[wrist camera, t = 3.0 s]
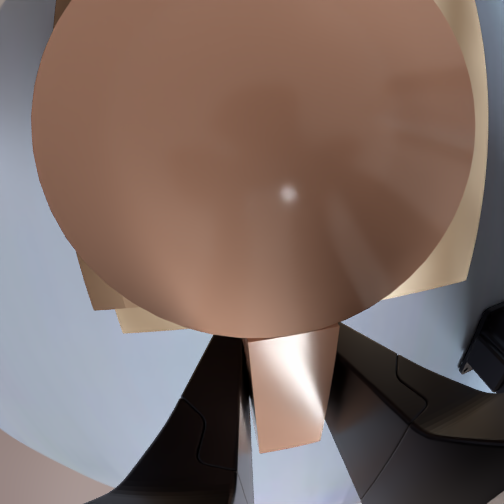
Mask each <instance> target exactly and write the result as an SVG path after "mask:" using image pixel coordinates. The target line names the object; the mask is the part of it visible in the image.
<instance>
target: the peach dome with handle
mask: <svg viewBox="0 0 504 504" xmlns="http://www.w3.org/2000/svg"><path fill="white" fill-rule="evenodd" d="M31 126H32V144H33V153H34V158H35V163H36V167H37V172H38V176H39V181H40V183H41V186H42V189H43V192H44V194H45V197H46V200H47V202H48V205H49V207H50V210H51V212H52V214H53V216H54V217H55V219H56V221H57V223H58V225H59V226H60V228H61V230H62V232H63V233H64V235H65V237H66V238H67V240H68V241H69V242H70V244H71V245H72V246H73V248H74V249H75V250H76V252H77V253H78V254H79V255H80V257H81V258H82V259H83V261H84V262H85V263H86V264H87V265H88V266H89V267H90V268H91V269H92V270H93V271H94V272H95V273H96V274H97V275H98V276H99V277H100V278H101V279H102V280H103V281H104V282H105V283H106V284H108V285H109V286H110V287H112V288H113V289H114V290H116V291H117V292H118V293H120V294H121V295H122V296H124V297H125V298H126V299H128V300H129V301H131V302H132V303H134V304H136V305H137V306H139V307H141V308H143V309H145V310H146V311H148V312H150V313H152V314H154V315H156V316H157V317H160V318H162V319H165V320H167V321H170V322H172V323H175V324H177V325H180V326H183V327H185V328H189V329H193V330H197V331H201V332H205V333H209V334H213V335H221V336H229V337H237V338H242V341H243V348H244V357H245V365H246V373H247V381H248V389H249V401H250V409H251V414H252V419H253V424H254V429H255V434H256V438H257V443H258V448H259V453H266V452H272V451H277V450H283V449H288V448H292V447H297V446H302V445H306V444H310V443H314V442H318V441H320V439H321V435H322V430H323V425H324V420H325V415H326V410H327V405H328V399H329V394H330V388H331V382H332V376H333V370H334V364H335V357H336V350H337V343H338V335H339V328H340V326H339V324H338V322H341V321H344V320H346V319H348V318H350V317H352V316H354V315H356V314H358V313H360V312H362V311H364V310H366V309H368V308H370V307H371V306H373V305H374V304H376V303H377V302H379V301H380V300H382V299H383V298H385V297H386V296H388V295H389V294H391V293H392V292H393V291H394V290H396V289H397V288H398V287H399V286H400V285H402V284H403V283H404V282H405V281H406V280H407V279H409V278H410V277H411V276H412V274H413V273H414V272H415V271H416V270H417V269H418V268H419V267H420V266H421V265H422V264H423V263H424V262H425V261H426V259H427V258H428V257H429V256H430V254H431V253H432V252H433V250H434V249H435V248H436V246H437V245H438V244H439V242H440V241H441V239H442V237H443V236H444V234H445V232H446V231H447V229H448V227H449V226H450V224H451V222H452V220H453V218H454V216H455V214H456V212H457V209H458V207H459V205H460V202H461V200H462V198H463V195H464V191H465V188H466V185H467V182H468V178H469V175H470V170H471V164H472V159H473V153H474V143H475V108H474V98H473V92H472V87H471V81H470V76H469V73H468V69H467V66H466V63H465V60H464V57H463V54H462V51H461V49H460V46H459V44H458V42H457V39H456V37H455V35H454V33H453V31H452V29H451V27H450V25H449V23H448V22H447V20H446V18H445V17H444V15H443V13H442V12H441V10H440V9H439V7H438V6H437V4H436V3H435V2H434V0H71V2H70V3H69V5H68V6H67V8H66V9H65V11H64V12H63V14H62V15H61V17H60V19H59V20H58V22H57V24H56V25H55V28H54V30H53V32H52V34H51V36H50V38H49V41H48V43H47V45H46V48H45V50H44V52H43V55H42V59H41V62H40V66H39V69H38V73H37V77H36V81H35V85H34V93H33V103H32V113H31Z"/></svg>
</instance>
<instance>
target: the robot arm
mask: <svg viewBox="0 0 504 504" xmlns="http://www.w3.org/2000/svg"><path fill="white" fill-rule="evenodd" d="M338 324H339V326H340V328H339V335H338V343H337V350H336V357H335V364H334V370H333V376H332V382H331V388H330V394H329V399H328V405H327V410H326V415H325V421H326V423H327V425H328V427H329V430H330V432H331V434H332V436H333V439H334V441H335V443H336V445H337V448H338V450H339V452H340V455H341V457H342V459H343V461H344V464H345V466H346V468H347V470H348V473H349V475H350V477H351V480H352V482H353V484H354V486H355V489H356V491H357V493H358V495H359V498H360V499H361V503H362V504H504V302H503V303H501V304H498V305H496V306H493V307H491V308H488V309H487V310H486V311H485V312H484V314H483V316H482V318H481V321H480V323H479V326H478V329H477V331H476V333H475V336H474V338H473V341H472V343H471V345H470V348H469V350H468V352H467V354H466V356H465V359H464V361H463V363H462V365H461V367H460V369H459V371H460V373H461V374H465V373H467V372H469V371H471V370H474V371H475V372H476V373H477V374H478V376H479V377H480V378H481V379H482V380H483V381H484V382H485V384H486V385H487V386H488V387H489V388H490V390H491V391H492V392H496V393H486V392H482V391H479V390H476V389H474V388H471V387H469V386H466V385H464V384H461V383H459V382H456V381H454V380H451V379H449V378H446V377H444V376H442V375H439V374H437V373H435V372H432V371H430V370H428V369H426V368H424V367H422V366H420V365H418V364H416V363H414V362H412V361H410V360H408V359H406V358H404V357H403V356H401V355H398V356H397V353H395V352H393V351H391V350H390V349H388V348H386V347H384V346H382V345H381V344H379V343H377V342H375V341H373V340H372V339H370V338H368V337H366V336H364V335H363V334H361V333H359V332H357V331H355V330H354V329H352V328H350V327H348V326H346V325H345V324H343V323H341V322H338ZM84 504H254V491H253V470H252V448H251V425H250V401H249V389H248V381H247V373H246V365H245V357H244V348H243V341H242V338H237V337H229V336H221V335H213V337H212V338H211V340H210V342H209V344H208V346H207V348H206V350H205V352H204V354H203V356H202V357H201V359H200V361H199V363H198V365H197V367H196V369H195V371H194V373H193V374H192V376H191V378H190V380H189V382H188V384H187V386H186V388H185V390H184V392H183V393H182V395H181V398H180V399H179V401H178V403H177V404H176V406H175V408H174V410H173V412H172V414H171V415H170V417H169V419H168V420H167V422H166V424H165V425H164V427H163V428H162V430H161V431H160V433H159V434H158V435H157V437H156V438H155V440H154V441H153V443H152V444H151V445H150V447H149V448H148V449H147V451H146V452H145V453H144V455H143V456H142V457H141V459H140V460H139V461H138V463H137V464H136V465H135V467H134V468H133V469H132V470H131V472H130V473H129V474H128V476H127V477H126V478H125V479H124V480H123V481H122V482H121V483H120V484H119V485H118V486H117V487H116V488H115V489H113V490H112V491H110V492H109V493H107V494H105V495H103V496H101V497H99V498H96V499H94V500H92V501H89V502H87V503H84Z"/></svg>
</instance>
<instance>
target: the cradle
mask: <svg viewBox="0 0 504 504" xmlns="http://www.w3.org/2000/svg"><path fill="white" fill-rule="evenodd" d="M70 2H71V0H56V6H55V16H54V27H53V30H54V28H55V25H56V24H57V22H58V20H59V19H60V17H61V15H62V14H63V12H64V11H65V9H66V8H67V6H68V5H69V3H70ZM434 2H435V3H436V4H437V6H438V7H439V9H440V10H441V12H442V13H443V15H444V17H445V18H446V20H447V22H448V23H449V25H450V27H451V29H452V31H453V33H454V35H455V37H456V39H457V42H458V44H459V46H460V49H461V51H462V54H463V57H464V60H465V63H466V66H467V69H468V73H469V76H470V81H471V87H472V92H473V98H474V108H475V143H474V153H473V159H472V164H471V170H470V175H469V178H468V182H467V185H466V188H465V191H464V195H463V198H462V200H461V202H460V205H459V207H458V209H457V212H456V214H455V216H454V218H453V220H452V222H451V224H450V226H449V227H448V229H447V231H446V232H445V234H444V236H443V237H442V239H441V241H440V242H439V244H438V245H437V246H436V248H435V249H434V250H433V252H432V253H431V254H430V256H429V257H428V258H427V259H426V261H425V262H424V263H423V264H422V265H421V266H420V267H419V268H418V269H417V270H416V271H415V272H414V273H413V274H412V276H411V277H410V278H409V279H407V280H406V281H405V282H404V283H403V284H402V285H400V286H399V287H398V288H397V289H396V290H394V291H393V292H392V293H391V294H389V295H388V296H386V297H385V298H383V299H382V300H384V299H389V298H394V297H399V296H403V295H408V294H412V293H417V292H421V291H425V290H430V289H434V288H438V287H442V286H446V285H450V284H454V283H458V282H462V281H466V278H467V274H468V271H469V267H470V263H471V259H472V254H473V250H474V245H475V241H476V236H477V231H478V225H479V220H480V214H481V207H482V200H483V193H484V185H485V175H486V164H487V149H488V90H487V75H486V64H485V55H484V48H483V41H482V34H481V29H480V23H479V18H478V13H477V8H476V4H475V0H434ZM76 254H77V257H78V261H79V264H80V268H81V271H82V275H83V278H84V281H85V285H86V288H87V291H88V294H89V297H90V300H91V303H92V306H93V309H94V310H109V309H115V311H116V314H117V317H118V320H119V323H120V326H121V329H122V332H123V333H139V332H154V331H166V330H178V329H189V328H185V327H183V326H180V325H177V324H175V323H172V322H170V321H167V320H165V319H162V318H160V317H157V316H156V315H154V314H152V313H150V312H148V311H146V310H145V309H143V308H141V307H139V306H137V305H136V304H134V303H132V302H131V301H129V300H128V299H126V298H125V297H124V296H122V295H121V294H120V293H118V292H117V291H116V290H114V289H113V288H112V287H110V286H109V285H108V284H106V283H105V282H104V281H103V280H102V279H101V278H100V277H99V276H98V275H97V274H96V273H95V272H94V271H93V270H92V269H91V268H90V267H89V266H88V265H87V264H86V263H85V262H84V261H83V259H82V258H81V257H80V255H79V254H78V253H77V252H76Z"/></svg>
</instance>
